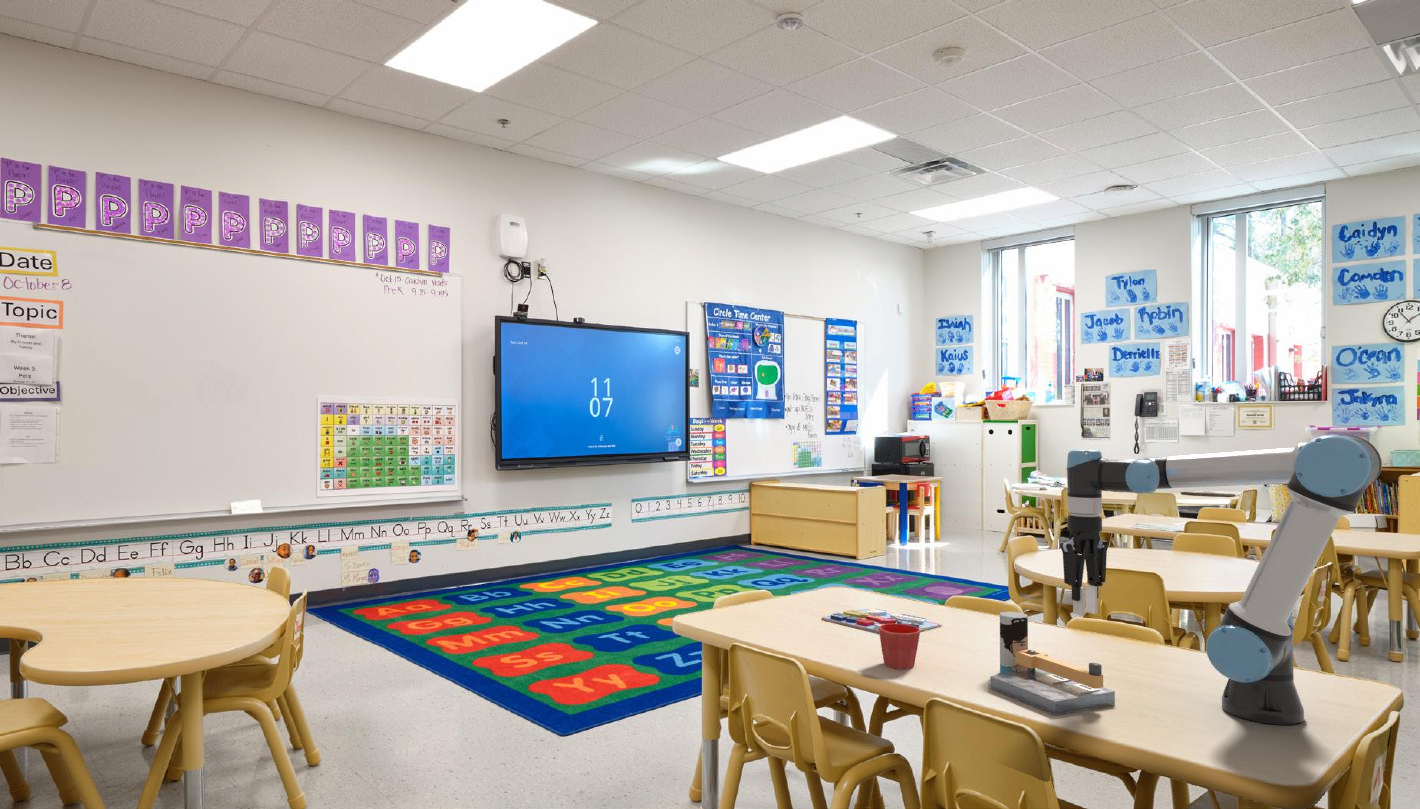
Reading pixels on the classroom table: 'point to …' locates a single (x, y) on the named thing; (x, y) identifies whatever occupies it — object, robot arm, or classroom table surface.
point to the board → (1050, 691)
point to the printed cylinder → (1012, 640)
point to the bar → (1062, 668)
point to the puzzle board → (877, 620)
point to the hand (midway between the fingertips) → (1085, 613)
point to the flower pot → (899, 645)
